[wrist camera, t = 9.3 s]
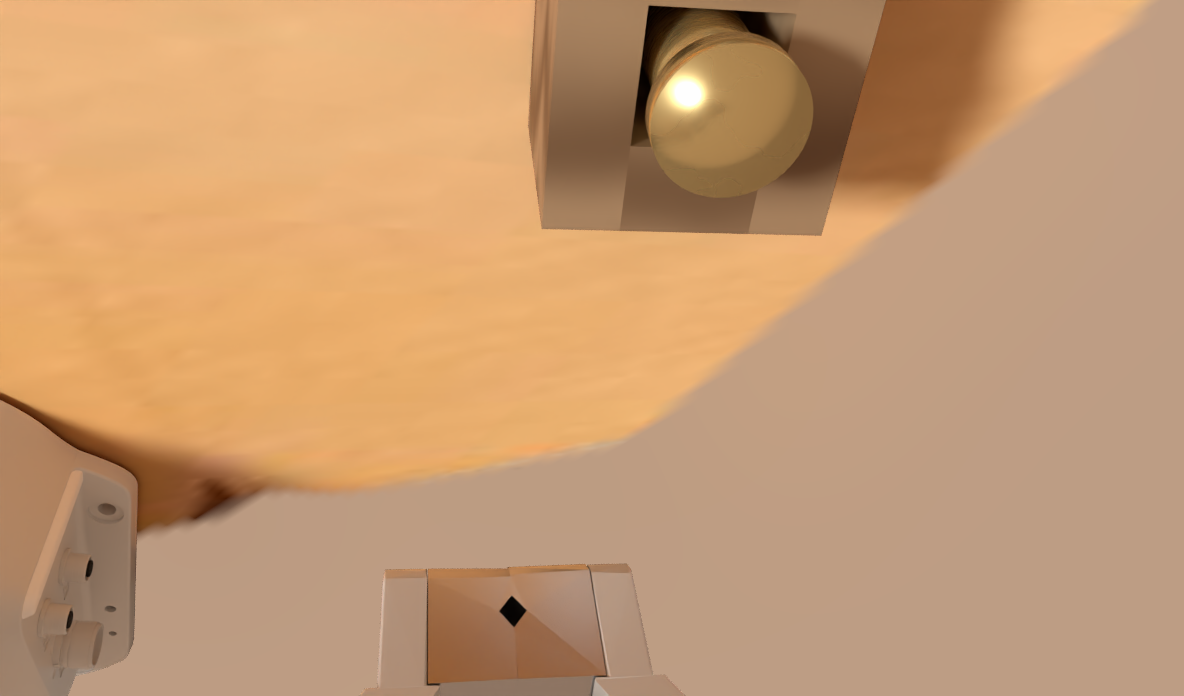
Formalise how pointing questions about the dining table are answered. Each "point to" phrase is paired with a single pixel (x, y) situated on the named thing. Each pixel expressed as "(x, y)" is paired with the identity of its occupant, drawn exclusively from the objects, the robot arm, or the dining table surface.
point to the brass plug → (721, 102)
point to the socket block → (618, 127)
